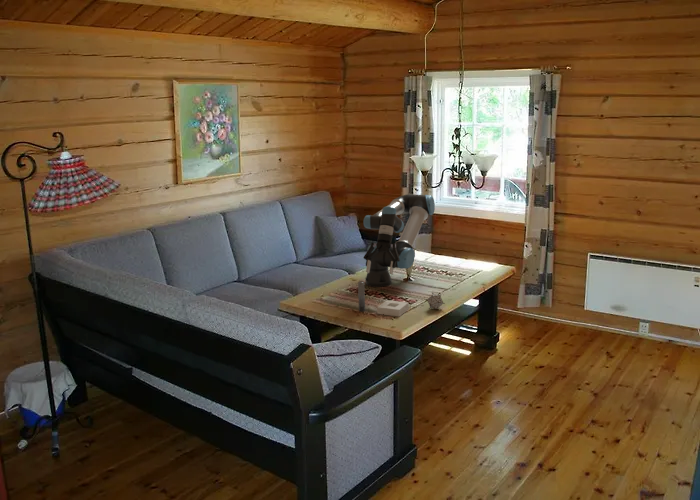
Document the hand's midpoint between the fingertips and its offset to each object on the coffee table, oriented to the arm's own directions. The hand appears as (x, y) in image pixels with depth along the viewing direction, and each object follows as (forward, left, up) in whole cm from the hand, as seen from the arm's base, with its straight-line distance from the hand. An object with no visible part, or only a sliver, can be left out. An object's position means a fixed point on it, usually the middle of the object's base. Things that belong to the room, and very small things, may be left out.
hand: (379, 273), depth 358 cm
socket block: (+14, +14, -15) cm, 25 cm away
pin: (+18, -2, -15) cm, 24 cm away
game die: (+3, +32, -15) cm, 36 cm away
